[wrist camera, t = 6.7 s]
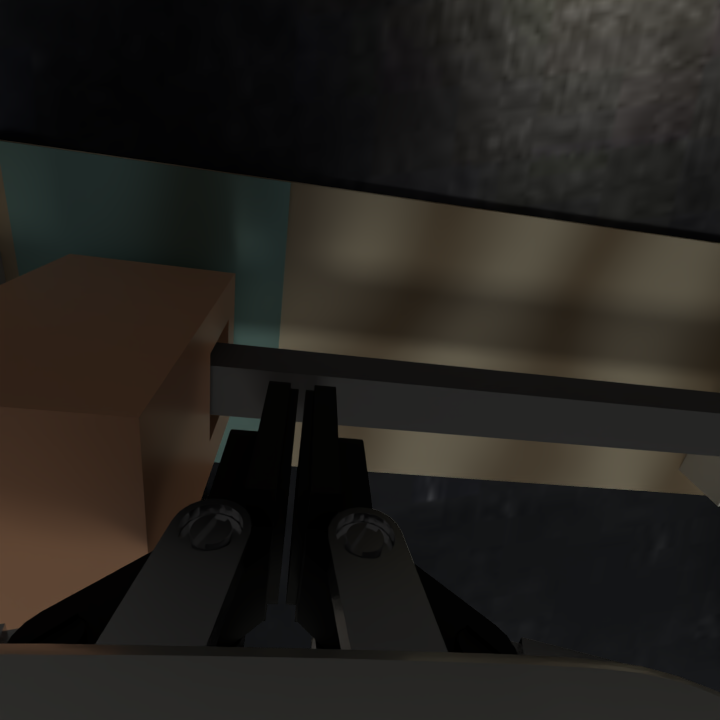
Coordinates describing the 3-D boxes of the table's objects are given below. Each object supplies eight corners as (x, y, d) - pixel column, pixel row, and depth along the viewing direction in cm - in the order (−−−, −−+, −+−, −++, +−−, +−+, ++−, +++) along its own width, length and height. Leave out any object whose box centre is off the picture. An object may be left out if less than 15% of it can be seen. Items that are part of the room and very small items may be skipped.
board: (841, 260, 17) (855, 263, 17) (709, 490, 22) (717, 497, 22) (-142, 119, 14) (-158, 118, 13) (-56, 435, 18) (-65, 442, 18)
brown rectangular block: (235, 273, 15) (139, 417, 7) (231, 411, 17) (153, 637, 9) (69, 253, 14) (-232, 388, 7) (87, 399, 17) (-124, 630, 9)
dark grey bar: (818, 402, 17) (864, 427, 15) (795, 439, 18) (837, 466, 16) (-99, 310, 13) (-151, 331, 12) (-85, 361, 14) (-132, 386, 12)
